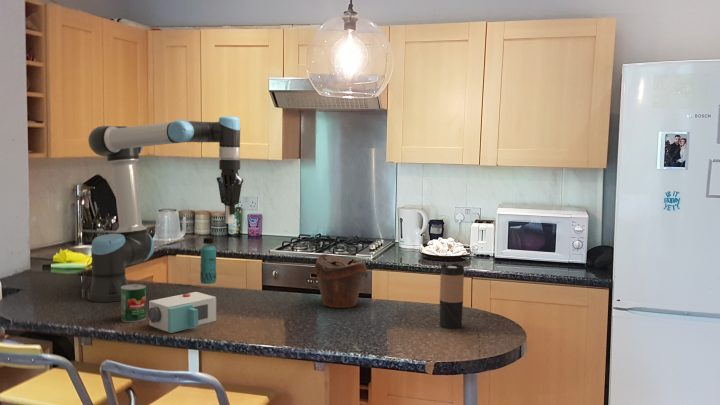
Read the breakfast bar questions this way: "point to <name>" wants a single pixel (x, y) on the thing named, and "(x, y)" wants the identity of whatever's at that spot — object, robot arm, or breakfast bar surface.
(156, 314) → the block
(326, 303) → the brown tapered cylinder
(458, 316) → the travel mug
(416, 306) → the breakfast bar surface
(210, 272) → the beverage bottle
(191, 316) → the door
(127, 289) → the canned tomato
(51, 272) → the breakfast bar surface
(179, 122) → the robot arm
